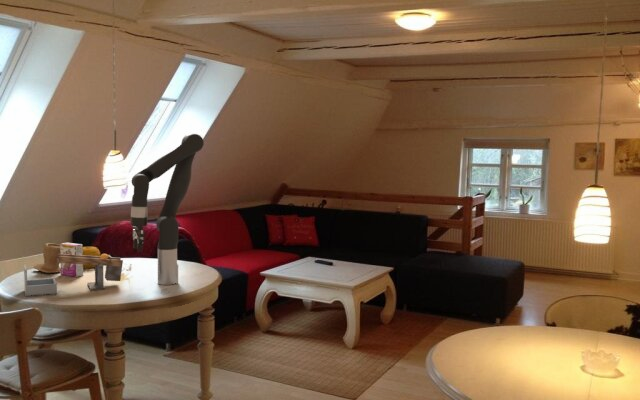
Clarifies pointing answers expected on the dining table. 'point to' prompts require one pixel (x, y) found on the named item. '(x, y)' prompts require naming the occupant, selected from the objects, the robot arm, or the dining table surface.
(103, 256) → the ball
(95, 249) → the yellow pumpkin
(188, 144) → the robot arm
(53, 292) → the grey tray
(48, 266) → the brown top hat
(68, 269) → the candy bar box
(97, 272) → the lever stand
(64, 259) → the lever
